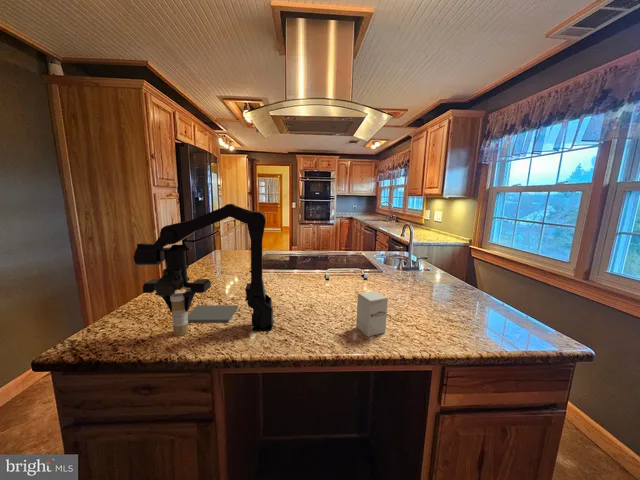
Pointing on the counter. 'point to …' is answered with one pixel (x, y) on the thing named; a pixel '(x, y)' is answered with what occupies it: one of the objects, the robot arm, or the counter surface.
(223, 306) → the gray tray
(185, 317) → the sprinkles bottle
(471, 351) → the counter surface
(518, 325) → the counter surface
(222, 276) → the counter surface
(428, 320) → the counter surface
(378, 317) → the supplement box
